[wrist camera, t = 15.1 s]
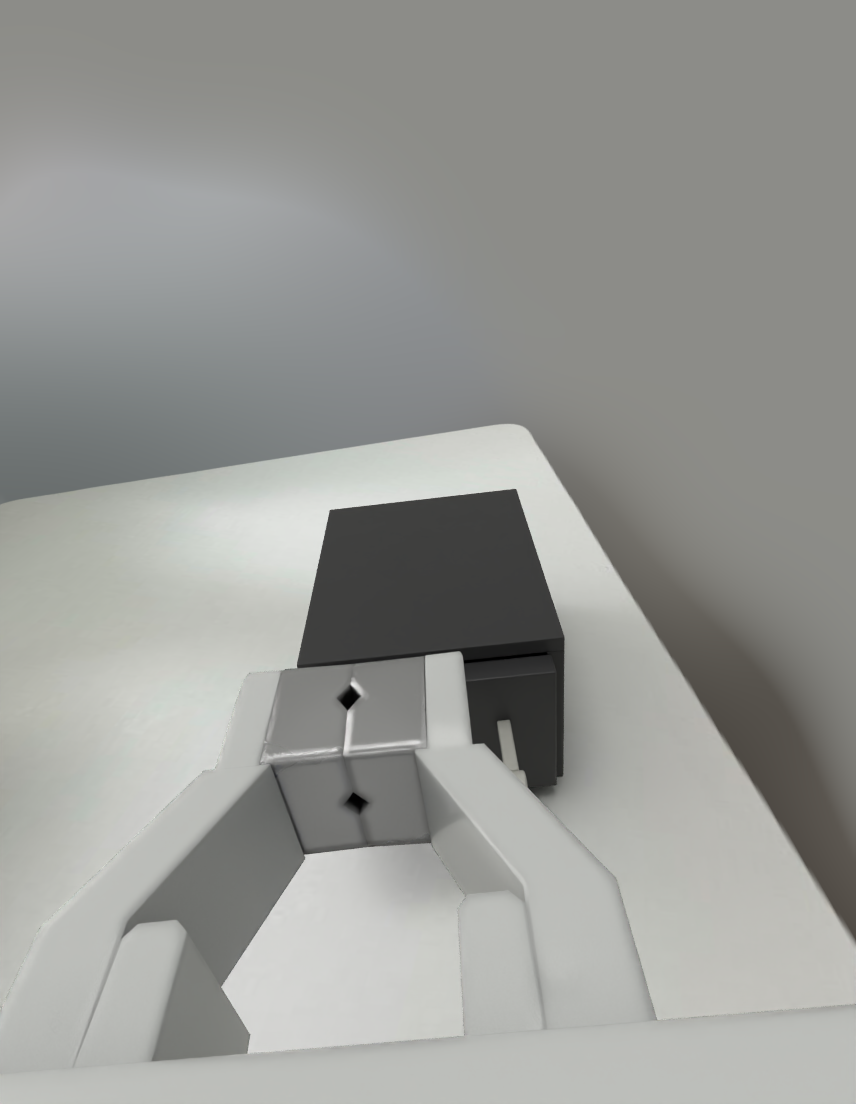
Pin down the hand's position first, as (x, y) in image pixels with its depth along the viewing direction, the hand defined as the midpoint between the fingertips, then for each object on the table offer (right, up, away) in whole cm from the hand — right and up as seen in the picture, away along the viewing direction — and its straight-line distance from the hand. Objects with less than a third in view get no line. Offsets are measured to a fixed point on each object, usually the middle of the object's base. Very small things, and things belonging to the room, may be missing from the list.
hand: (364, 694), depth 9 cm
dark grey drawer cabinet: (+2, -6, +30) cm, 31 cm away
